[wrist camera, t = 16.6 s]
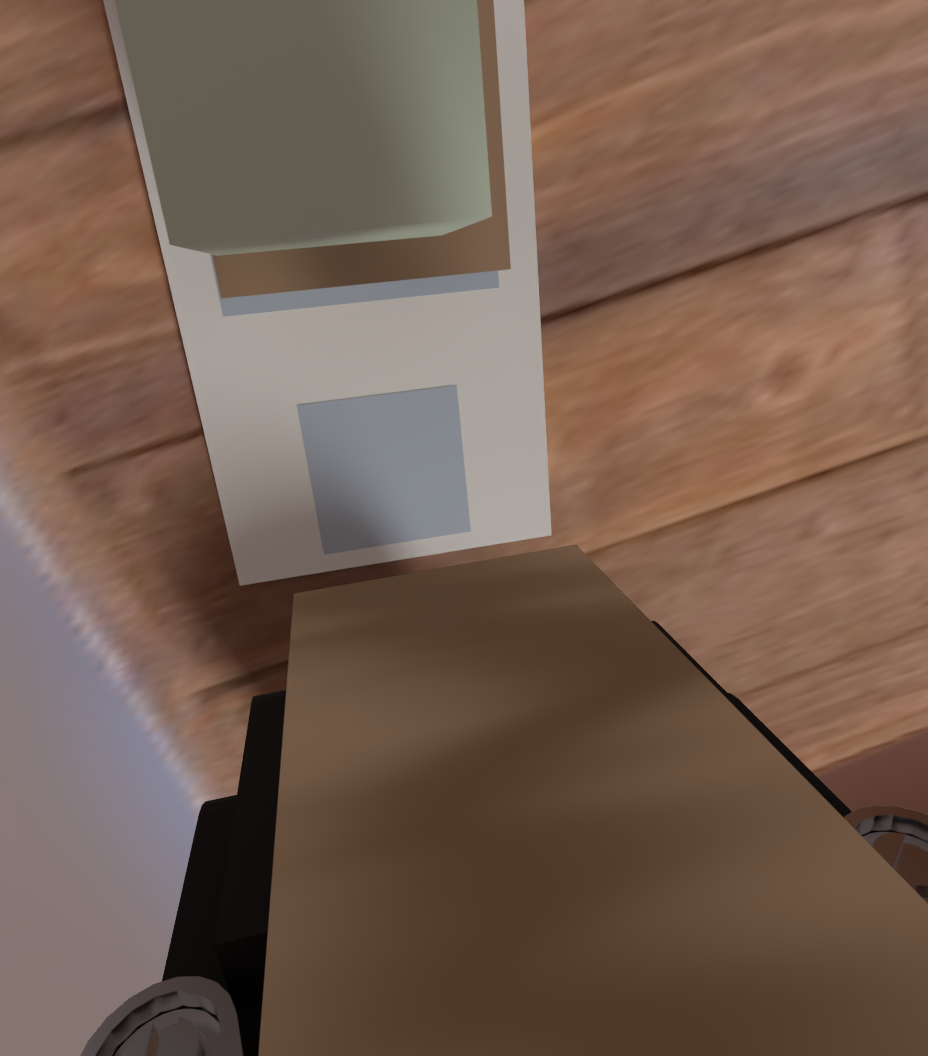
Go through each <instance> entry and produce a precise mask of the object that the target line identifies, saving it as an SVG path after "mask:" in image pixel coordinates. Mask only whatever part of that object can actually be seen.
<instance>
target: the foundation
mask: <svg viewBox="0 0 928 1056" xmlns="http://www.w3.org/2000/svg"><path fill="white" fill-rule="evenodd" d="M477 7H478V22H479V36H480V51H481V65H482V79H483V94H484V108H485V122H486V137H487V151H488V165H489V180H490V194H491V208H492V217H490V218H487V219H484V220H482V221H479V222H476V223H474V224H471V225H468V226H466V227H463V228H460V229H458V230H455V231H453V232H450V233H447V234H445V235H441V236H430V237H419V238H408V239H397V240H386V241H375V242H364V243H353V244H342V245H330V246H319V247H308V248H297V249H286V250H275V251H264V252H253V253H242V254H231V255H220V256H216V255H212V258H213V262H214V267H215V272H216V277H217V282H218V286H219V291H220V296H221V299H222V298H232V297H242V296H252V295H262V294H272V293H281V292H291V291H301V290H311V289H321V288H331V287H341V286H351V285H360V284H370V283H380V282H390V281H400V280H410V279H420V278H429V277H439V276H449V275H459V274H469V273H479V272H489V271H498V270H508V269H511V265H510V249H509V234H508V218H507V203H506V187H505V171H504V156H503V140H502V125H501V109H500V94H499V78H498V62H497V47H496V31H495V16H494V0H477Z"/></svg>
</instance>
